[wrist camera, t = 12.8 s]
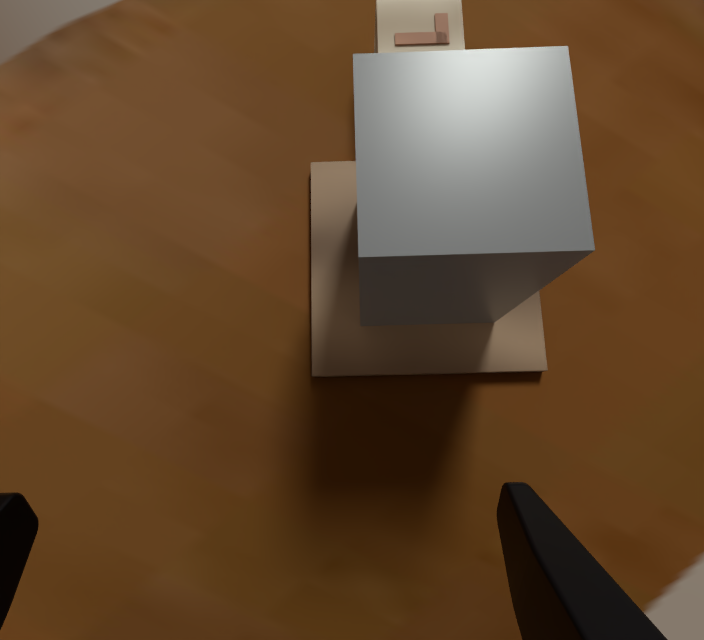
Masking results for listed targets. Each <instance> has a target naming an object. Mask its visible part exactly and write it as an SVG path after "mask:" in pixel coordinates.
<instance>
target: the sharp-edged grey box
mask: <svg viewBox="0 0 704 640" xmlns="http://www.w3.org/2000/svg"><path fill="white" fill-rule="evenodd" d="M353 74H354V111H355V147H356V184H357V221H358V257H359V293H360V326H383V325H420V324H457V323H494V322H496V321H497V320H499V319H500V318H502V317H503V316H504V315H506V314H507V313H508V312H510V311H511V310H513V309H514V308H515V307H517V306H518V305H520V304H521V303H522V302H524V301H525V300H526V299H528V298H529V297H531V296H532V295H533V294H535V293H536V292H538V291H539V290H540V289H542V288H543V287H545V286H546V285H547V284H549V283H550V282H551V281H553V280H554V279H556V278H557V277H558V276H560V275H561V274H563V273H564V272H565V271H567V270H568V269H569V268H571V267H572V266H574V265H575V264H576V263H578V262H579V261H581V260H582V259H583V258H585V257H586V256H588V255H589V254H590V253H592V252H593V251H594V250H595V247H594V239H593V232H592V224H591V217H590V209H589V202H588V194H587V187H586V179H585V172H584V164H583V157H582V149H581V142H580V134H579V127H578V119H577V112H576V104H575V96H574V89H573V81H572V74H571V66H570V59H569V51H568V46H555V47H529V48H502V49H475V50H448V51H421V52H394V53H367V54H353Z"/></svg>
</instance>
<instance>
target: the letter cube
mask: <svg viewBox="0 0 704 640" xmlns="http://www.w3.org/2000/svg"><path fill="white" fill-rule="evenodd" d="M448 50H465V45H464V32H463V18H462V4H461V0H376V13H375V44H374V53H394V52H421V51H448Z"/></svg>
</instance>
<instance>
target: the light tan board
mask: <svg viewBox="0 0 704 640" xmlns="http://www.w3.org/2000/svg"><path fill="white" fill-rule="evenodd" d="M311 298H312V376H313V377H333V376H375V375H417V374H459V373H501V372H543V371H547V361H546V352H545V342H544V333H543V323H542V314H541V304H540V295H539V291H538V292H536V293H535V294H533V295H532V296H531V297H529V298H528V299H526V300H525V301H524V302H522V303H521V304H520V305H518V306H517V307H515V308H514V309H513V310H511V311H510V312H508V313H507V314H506V315H504V316H503V317H502V318H500V319H499V320H497V321H496V322H494V323H457V324H420V325H383V326H360V293H359V257H358V221H357V184H356V161H340V162H311Z"/></svg>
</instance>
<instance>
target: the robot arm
mask: <svg viewBox="0 0 704 640" xmlns="http://www.w3.org/2000/svg"><path fill="white" fill-rule="evenodd" d="M497 522H498V528H499V533H500V539H501V544H502V550H503V555H504V560H505V566H506V571H507V577H508V582H509V587H510V593H511V598H512V603H513V607H514V611H515V615H516V619H517V622H518V626H519V629H520V633H521V636H522V639H523V640H667V639H666V637H664V635H663V634H662V633H661V632H660V631H659V630H658V629H657V627H656V626H655V625H654V624H653V623H652V622H651V621H650V620H649V618H648V617H647V616H646V615H645V614H644V613H643V612H642V611H641V610H640V608H639V607H638V606H637V605H636V604H635V603H634V602H633V601H632V600H631V598H630V597H629V596H628V595H627V594H626V593H625V592H624V591H623V590H622V588H621V587H620V586H619V585H618V584H617V583H616V582H615V581H614V579H613V578H612V577H611V576H610V575H609V574H608V573H607V572H606V571H605V569H604V568H603V567H602V566H601V565H600V564H599V563H598V562H597V561H596V559H595V558H594V557H593V556H592V555H591V554H590V553H589V552H588V551H587V549H586V548H585V547H584V546H583V545H582V544H581V543H580V542H579V540H578V539H577V538H576V537H575V536H574V535H573V534H572V533H571V532H570V530H569V529H568V528H567V527H566V526H565V525H564V524H563V523H562V522H561V520H560V519H559V518H558V517H557V516H556V515H555V514H554V513H553V512H552V510H551V509H550V508H549V507H548V506H547V505H546V504H545V503H544V501H543V500H542V499H541V498H540V497H539V496H538V495H537V494H536V493H535V491H534V490H533V489H532V488H531V487H530V486H529V485H528V484H526V483H524V482H507V483H504V484H503V486H502V489H501V493H500V498H499V502H498V507H497ZM37 531H38V518H37V516H36V514H35V513H34V511H33V510H32V508H31V507H30V505H29V504H28V502H27V500H26V499H25V497H24V496H23V495H22V494H20V493H0V629H1V627H2V625H3V623H4V620H5V618H6V616H7V613H8V611H9V608H10V606H11V603H12V601H13V598H14V595H15V592H16V590H17V587H18V584H19V581H20V578H21V576H22V573H23V570H24V567H25V565H26V562H27V559H28V556H29V553H30V551H31V548H32V545H33V542H34V540H35V537H36V534H37Z"/></svg>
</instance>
